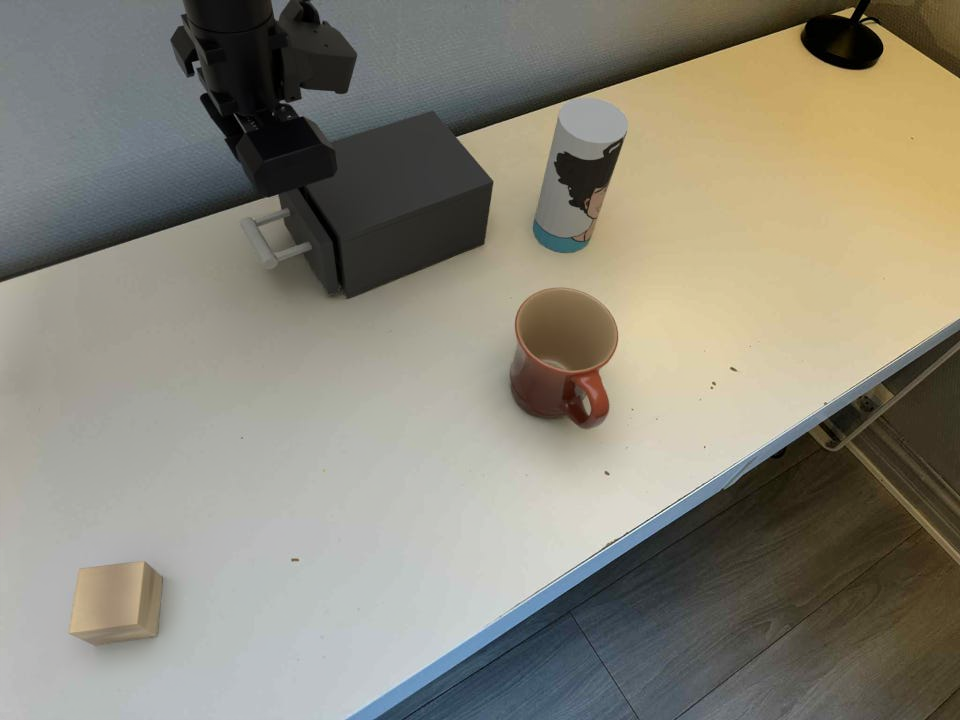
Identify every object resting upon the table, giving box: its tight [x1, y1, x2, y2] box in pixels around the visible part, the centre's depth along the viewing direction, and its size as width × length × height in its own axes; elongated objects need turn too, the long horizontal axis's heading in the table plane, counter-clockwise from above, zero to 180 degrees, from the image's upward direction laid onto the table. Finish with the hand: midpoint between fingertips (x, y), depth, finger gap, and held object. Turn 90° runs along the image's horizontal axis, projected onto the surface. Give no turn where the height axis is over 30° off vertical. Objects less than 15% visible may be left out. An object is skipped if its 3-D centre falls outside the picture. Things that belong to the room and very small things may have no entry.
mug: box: [509, 287, 619, 430], centre depth 59 cm, size 12×9×10 cm
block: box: [68, 560, 164, 646], centre depth 48 cm, size 4×4×4 cm
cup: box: [532, 96, 629, 254], centre depth 69 cm, size 7×7×15 cm
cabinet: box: [298, 110, 495, 300], centre depth 69 cm, size 17×12×9 cm
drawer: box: [239, 188, 341, 296], centre depth 67 cm, size 20×11×7 cm, turn 122°
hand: (269, 183), depth 58 cm, fingers closed
